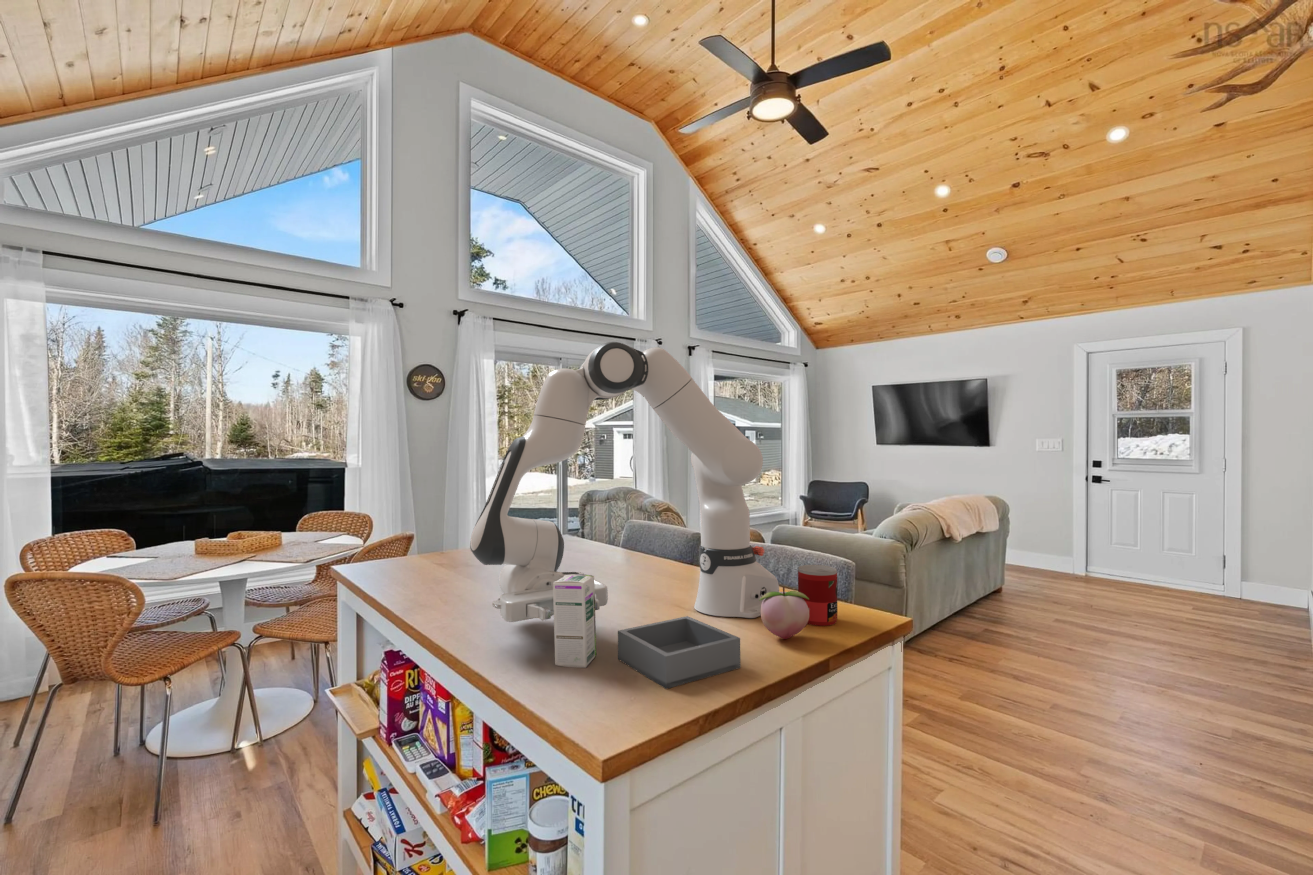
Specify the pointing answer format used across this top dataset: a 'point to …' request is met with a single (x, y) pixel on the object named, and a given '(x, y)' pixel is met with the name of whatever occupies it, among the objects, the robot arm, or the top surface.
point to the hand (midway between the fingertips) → (572, 610)
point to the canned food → (819, 593)
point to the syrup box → (574, 620)
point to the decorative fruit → (784, 612)
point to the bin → (678, 651)
